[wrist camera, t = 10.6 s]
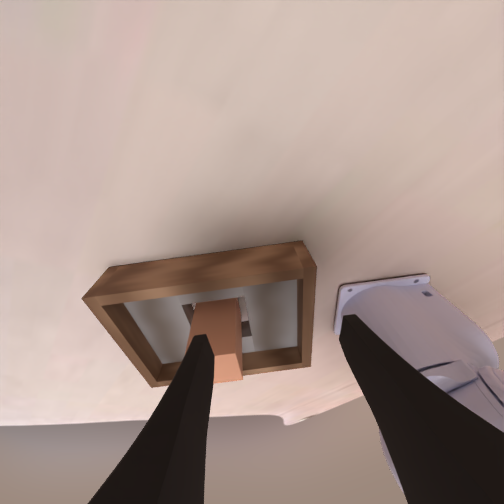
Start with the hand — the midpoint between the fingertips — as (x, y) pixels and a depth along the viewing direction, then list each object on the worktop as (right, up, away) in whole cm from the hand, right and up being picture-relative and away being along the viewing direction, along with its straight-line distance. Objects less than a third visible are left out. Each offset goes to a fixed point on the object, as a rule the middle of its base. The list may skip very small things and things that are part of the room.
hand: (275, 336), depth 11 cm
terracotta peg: (-5, -1, +12) cm, 13 cm away
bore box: (-5, -2, +12) cm, 13 cm away
